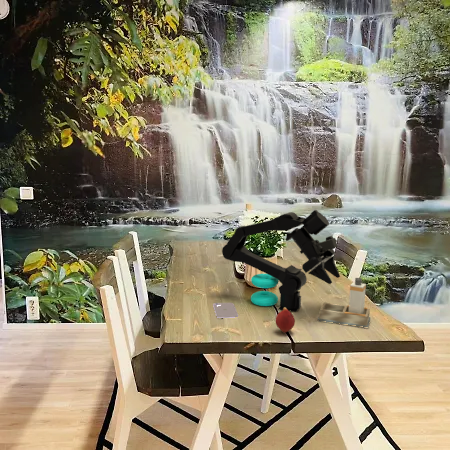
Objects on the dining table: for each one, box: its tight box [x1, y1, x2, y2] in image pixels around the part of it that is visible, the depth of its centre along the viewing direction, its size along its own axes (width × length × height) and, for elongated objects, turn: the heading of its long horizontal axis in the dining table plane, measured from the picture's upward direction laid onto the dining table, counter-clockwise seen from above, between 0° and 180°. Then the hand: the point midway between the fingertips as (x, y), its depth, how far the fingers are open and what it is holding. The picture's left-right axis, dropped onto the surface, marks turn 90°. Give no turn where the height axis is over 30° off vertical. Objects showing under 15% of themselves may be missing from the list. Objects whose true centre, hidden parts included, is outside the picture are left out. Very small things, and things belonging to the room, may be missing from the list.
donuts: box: [250, 273, 280, 307], centre depth 167 cm, size 10×10×10 cm
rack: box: [317, 302, 371, 328], centre depth 151 cm, size 16×9×4 cm, turn 68°
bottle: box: [348, 277, 367, 314], centre depth 149 cm, size 4×4×14 cm
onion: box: [275, 308, 296, 334], centre depth 140 cm, size 6×6×8 cm
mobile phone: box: [212, 302, 239, 319], centre depth 158 cm, size 8×1×15 cm
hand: (335, 280), depth 152 cm, fingers open, 9 cm apart
